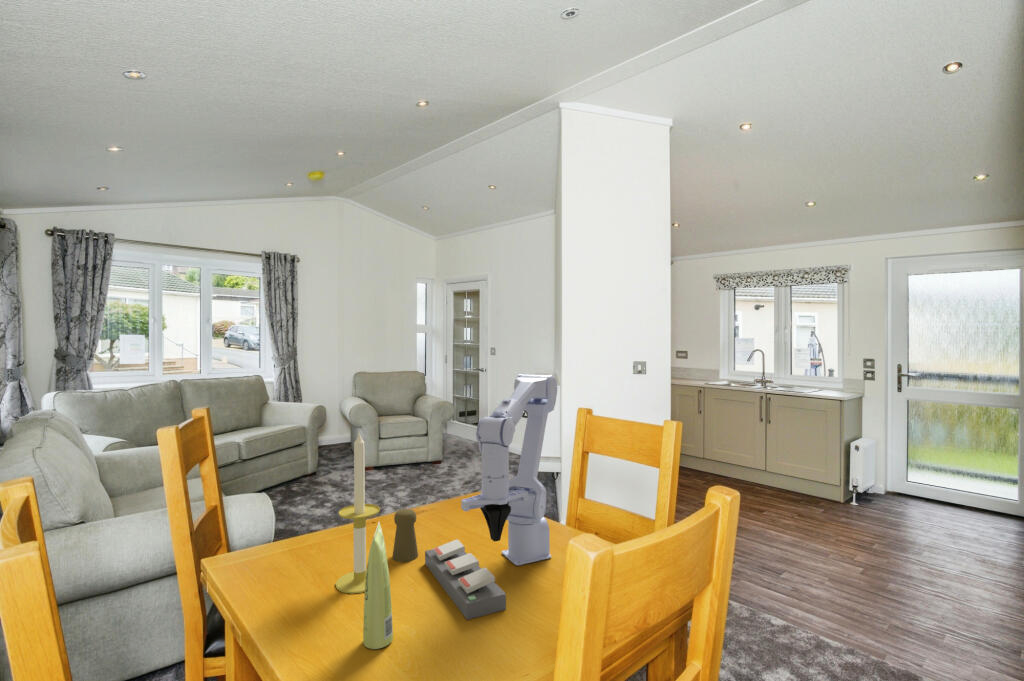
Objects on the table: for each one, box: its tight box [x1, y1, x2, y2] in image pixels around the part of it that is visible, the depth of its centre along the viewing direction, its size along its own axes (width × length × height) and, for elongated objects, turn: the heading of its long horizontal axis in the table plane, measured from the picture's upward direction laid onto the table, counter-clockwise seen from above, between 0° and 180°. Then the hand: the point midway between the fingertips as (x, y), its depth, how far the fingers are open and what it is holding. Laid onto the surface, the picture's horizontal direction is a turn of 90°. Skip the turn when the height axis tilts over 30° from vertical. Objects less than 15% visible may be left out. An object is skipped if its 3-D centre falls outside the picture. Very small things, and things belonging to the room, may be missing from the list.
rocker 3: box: [458, 567, 496, 594], centre depth 100 cm, size 6×4×1 cm
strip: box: [424, 548, 507, 621], centre depth 107 cm, size 8×26×4 cm, turn 27°
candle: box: [334, 431, 381, 595], centre depth 108 cm, size 10×10×32 cm
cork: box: [392, 508, 419, 563], centre depth 121 cm, size 6×6×11 cm
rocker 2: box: [445, 552, 480, 575], centre depth 107 cm, size 6×4×1 cm
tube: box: [362, 521, 394, 650], centre depth 87 cm, size 6×5×20 cm
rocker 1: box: [432, 538, 466, 561], centre depth 114 cm, size 6×4×1 cm
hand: (495, 539), depth 106 cm, fingers closed
